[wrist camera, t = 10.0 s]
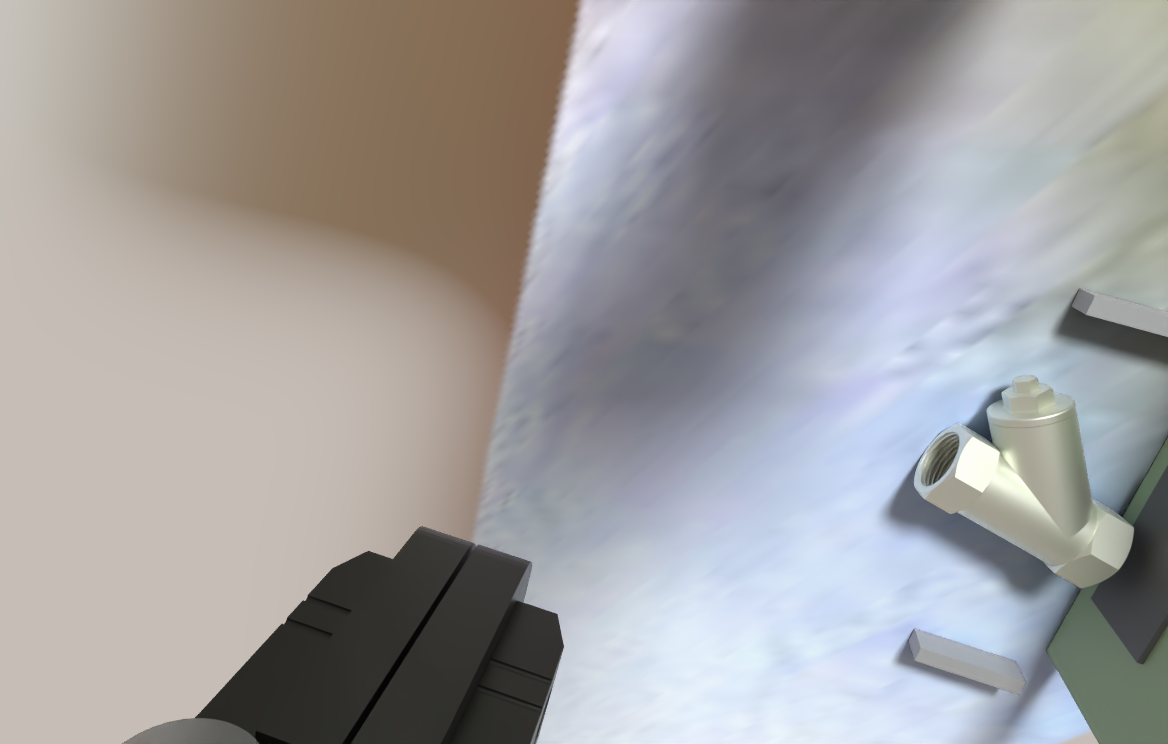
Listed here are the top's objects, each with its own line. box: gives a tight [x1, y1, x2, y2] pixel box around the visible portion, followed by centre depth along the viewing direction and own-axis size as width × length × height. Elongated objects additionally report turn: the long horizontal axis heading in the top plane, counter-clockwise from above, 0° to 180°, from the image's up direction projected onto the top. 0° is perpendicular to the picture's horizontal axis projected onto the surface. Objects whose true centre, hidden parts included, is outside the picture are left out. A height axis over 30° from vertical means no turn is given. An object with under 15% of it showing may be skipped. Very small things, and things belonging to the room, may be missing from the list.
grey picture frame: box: [909, 288, 1168, 744], centre depth 30 cm, size 19×7×10 cm, turn 166°
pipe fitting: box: [914, 375, 1134, 588], centre depth 33 cm, size 8×4×7 cm
